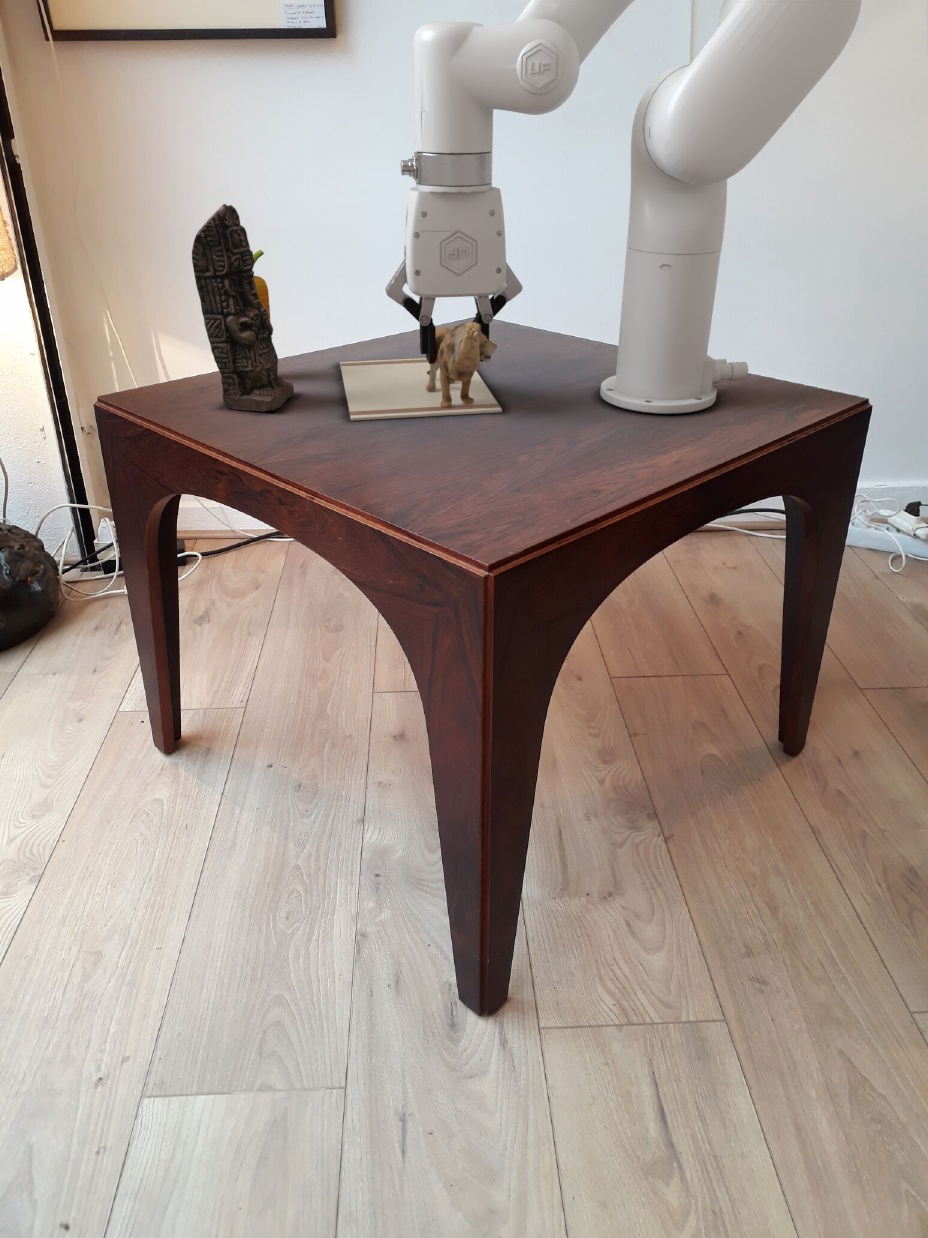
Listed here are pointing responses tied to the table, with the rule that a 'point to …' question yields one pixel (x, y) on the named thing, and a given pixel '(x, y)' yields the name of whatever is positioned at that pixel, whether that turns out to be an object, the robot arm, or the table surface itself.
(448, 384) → the lion figurine
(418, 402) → the napkin
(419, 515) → the table surface
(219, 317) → the statue
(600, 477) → the table surface
